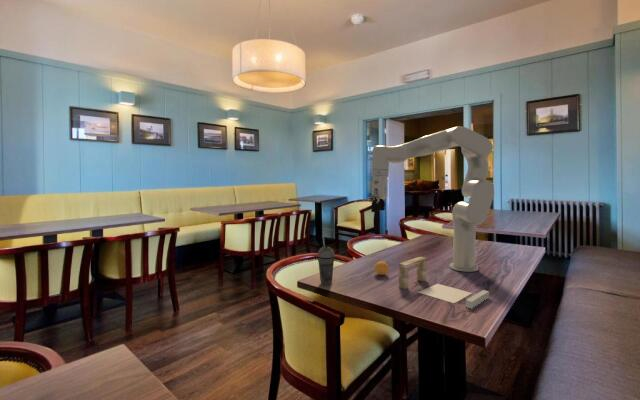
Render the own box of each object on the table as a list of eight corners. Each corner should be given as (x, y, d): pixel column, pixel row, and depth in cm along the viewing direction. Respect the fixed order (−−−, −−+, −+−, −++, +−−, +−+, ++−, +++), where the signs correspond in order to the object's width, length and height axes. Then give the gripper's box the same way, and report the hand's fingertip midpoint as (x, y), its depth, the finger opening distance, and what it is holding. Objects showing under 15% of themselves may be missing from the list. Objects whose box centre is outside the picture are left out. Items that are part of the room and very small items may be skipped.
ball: (380, 271, 150) (380, 259, 150) (391, 274, 146) (391, 261, 145) (371, 274, 146) (372, 261, 146) (382, 277, 142) (382, 264, 141)
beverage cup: (333, 287, 131) (333, 238, 129) (315, 286, 132) (315, 237, 130) (336, 281, 138) (336, 234, 136) (319, 280, 139) (318, 234, 138)
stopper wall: (483, 296, 120) (483, 289, 120) (488, 298, 118) (489, 291, 118) (465, 307, 111) (465, 300, 111) (471, 309, 109) (471, 301, 109)
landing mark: (437, 284, 133) (437, 283, 133) (472, 293, 123) (472, 293, 123) (418, 292, 124) (418, 292, 124) (454, 303, 114) (454, 303, 114)
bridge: (398, 287, 130) (399, 263, 129) (419, 278, 140) (420, 256, 139) (405, 289, 128) (405, 264, 127) (426, 280, 138) (426, 257, 137)
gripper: (382, 173, 139) (380, 213, 140) (393, 174, 154) (391, 210, 156) (365, 173, 142) (364, 212, 144) (377, 173, 158) (375, 208, 159)
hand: (378, 211), depth 150 cm, fingers open, 9 cm apart
